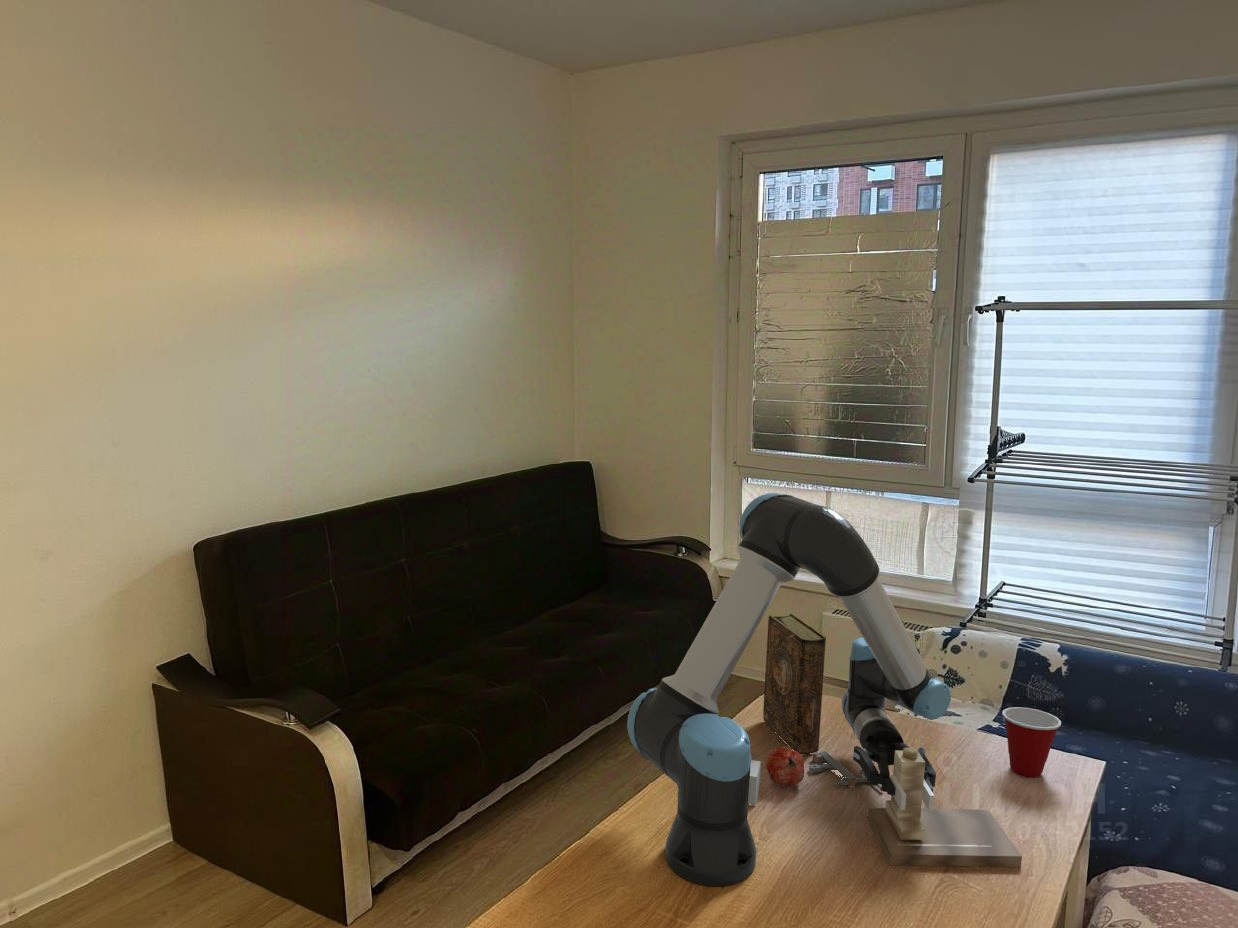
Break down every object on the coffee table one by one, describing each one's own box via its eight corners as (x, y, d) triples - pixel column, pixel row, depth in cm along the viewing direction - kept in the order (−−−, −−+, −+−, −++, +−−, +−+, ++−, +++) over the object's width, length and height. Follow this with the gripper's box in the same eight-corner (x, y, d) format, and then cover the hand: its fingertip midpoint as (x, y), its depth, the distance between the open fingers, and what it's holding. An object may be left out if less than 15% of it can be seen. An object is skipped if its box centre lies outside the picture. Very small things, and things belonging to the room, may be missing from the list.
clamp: (799, 754, 186) (841, 747, 189) (799, 764, 186) (841, 757, 189) (841, 791, 172) (886, 783, 175) (840, 802, 172) (885, 794, 175)
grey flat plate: (889, 864, 153) (890, 853, 152) (867, 817, 166) (867, 807, 166) (1020, 866, 153) (1022, 855, 152) (987, 819, 167) (988, 809, 166)
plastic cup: (1049, 761, 188) (1056, 707, 186) (1059, 788, 178) (1066, 731, 176) (993, 753, 191) (999, 700, 189) (1000, 779, 181) (1006, 723, 179)
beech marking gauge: (900, 839, 156) (906, 763, 153) (885, 810, 165) (891, 738, 162) (924, 839, 156) (930, 764, 153) (907, 810, 165) (913, 738, 162)
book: (821, 752, 190) (829, 638, 185) (798, 756, 188) (805, 641, 184) (784, 717, 205) (790, 612, 201) (762, 720, 204) (768, 614, 199)
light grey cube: (728, 785, 177) (729, 756, 176) (759, 790, 175) (761, 761, 174) (723, 801, 171) (724, 771, 170) (755, 806, 170) (757, 776, 168)
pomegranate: (760, 786, 180) (770, 779, 172) (762, 749, 184) (772, 740, 175) (797, 792, 180) (809, 785, 171) (798, 754, 184) (810, 745, 175)
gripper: (920, 755, 177) (966, 823, 154) (833, 753, 177) (865, 821, 154) (924, 719, 176) (970, 782, 153) (835, 717, 176) (868, 781, 153)
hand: (917, 802), depth 154 cm, fingers closed on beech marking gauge, 4 cm apart
